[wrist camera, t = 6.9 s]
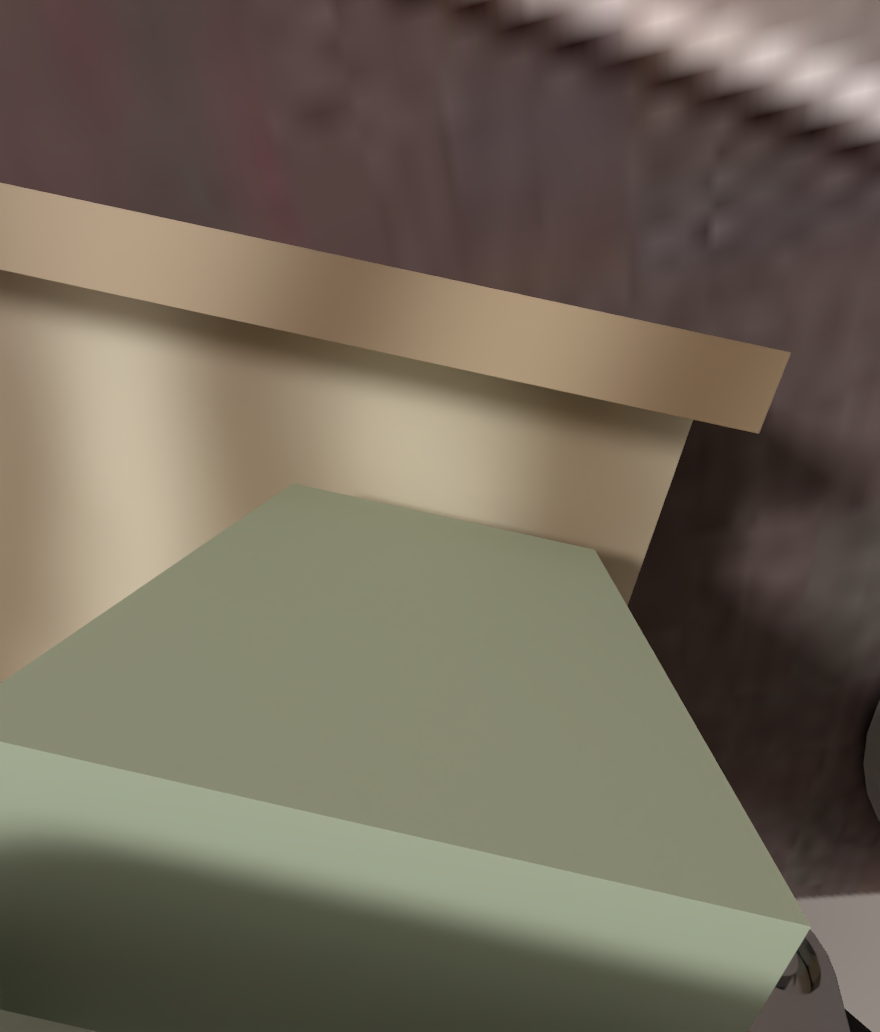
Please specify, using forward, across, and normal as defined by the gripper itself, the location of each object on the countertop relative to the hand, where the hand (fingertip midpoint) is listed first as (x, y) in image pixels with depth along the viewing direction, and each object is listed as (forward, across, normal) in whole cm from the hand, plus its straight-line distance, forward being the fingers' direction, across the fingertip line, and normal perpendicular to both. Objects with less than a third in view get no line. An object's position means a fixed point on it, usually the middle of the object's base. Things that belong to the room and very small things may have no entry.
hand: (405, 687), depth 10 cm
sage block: (+1, 0, 0) cm, 1 cm away
